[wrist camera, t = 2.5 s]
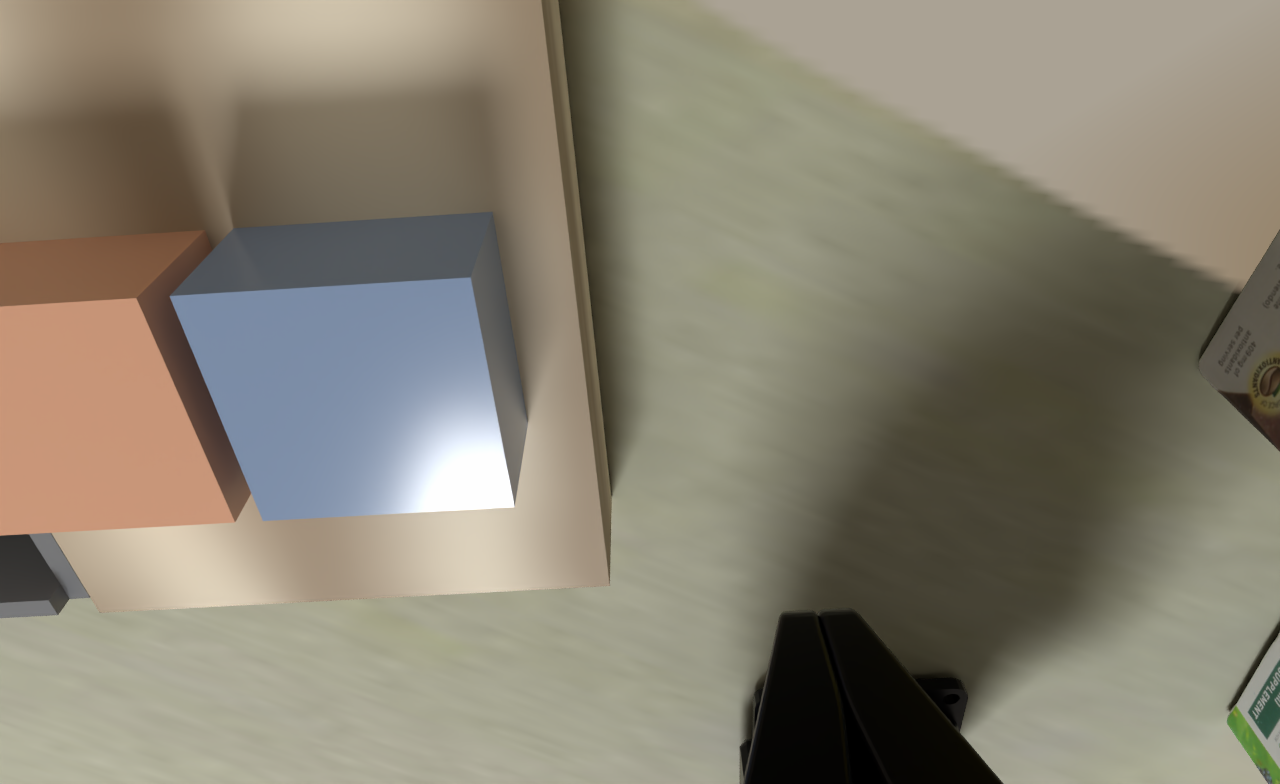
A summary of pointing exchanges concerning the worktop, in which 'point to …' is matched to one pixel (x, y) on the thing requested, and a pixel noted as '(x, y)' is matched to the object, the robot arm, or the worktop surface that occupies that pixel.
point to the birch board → (316, 193)
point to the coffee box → (1251, 349)
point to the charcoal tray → (35, 576)
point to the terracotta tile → (106, 390)
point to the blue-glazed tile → (362, 364)
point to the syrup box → (1261, 716)
